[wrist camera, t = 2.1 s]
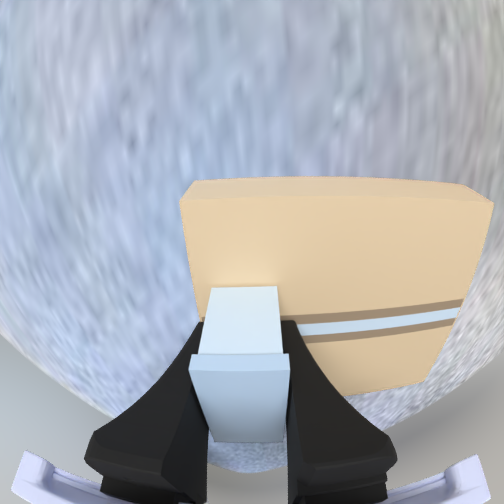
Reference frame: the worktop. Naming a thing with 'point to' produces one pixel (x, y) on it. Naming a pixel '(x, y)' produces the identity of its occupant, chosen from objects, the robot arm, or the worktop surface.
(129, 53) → the worktop surface
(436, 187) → the carton
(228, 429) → the tab
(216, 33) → the worktop surface
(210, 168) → the worktop surface
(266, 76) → the worktop surface
